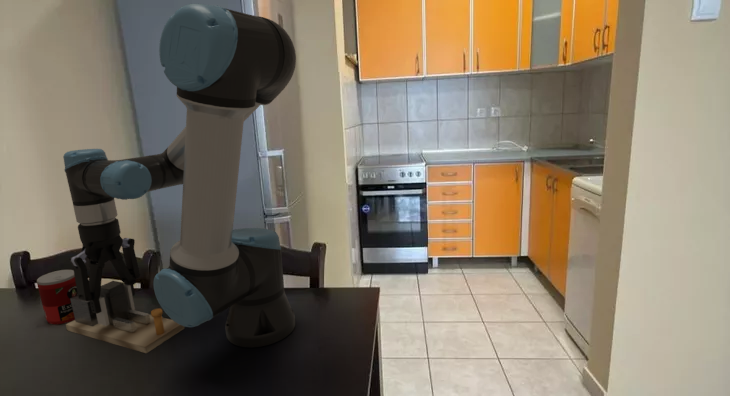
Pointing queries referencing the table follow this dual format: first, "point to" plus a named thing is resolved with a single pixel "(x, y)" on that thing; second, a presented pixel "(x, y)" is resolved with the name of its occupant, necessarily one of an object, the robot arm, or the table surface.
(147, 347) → the rail board
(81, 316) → the block
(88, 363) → the table surface
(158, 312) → the keeper post
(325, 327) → the table surface
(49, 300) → the canned food
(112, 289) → the two-pronged fork block
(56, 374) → the table surface
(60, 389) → the table surface
